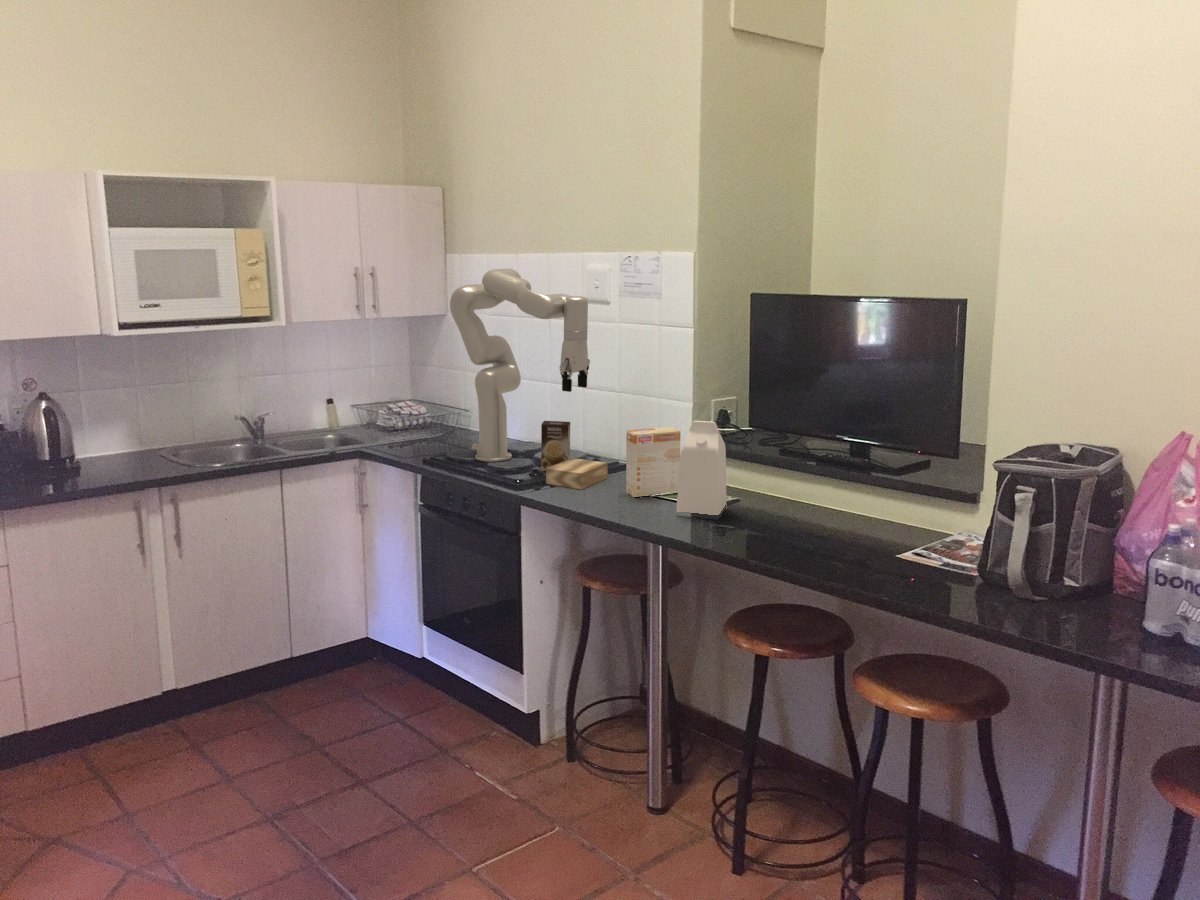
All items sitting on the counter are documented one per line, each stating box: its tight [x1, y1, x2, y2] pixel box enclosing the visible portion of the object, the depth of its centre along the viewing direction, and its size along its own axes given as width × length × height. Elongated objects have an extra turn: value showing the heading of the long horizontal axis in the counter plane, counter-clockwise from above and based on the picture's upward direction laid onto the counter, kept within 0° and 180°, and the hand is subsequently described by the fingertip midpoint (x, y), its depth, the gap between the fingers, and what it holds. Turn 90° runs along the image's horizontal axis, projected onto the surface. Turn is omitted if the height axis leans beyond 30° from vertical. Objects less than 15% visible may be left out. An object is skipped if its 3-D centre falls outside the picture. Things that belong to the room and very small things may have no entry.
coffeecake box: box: [625, 426, 681, 498], centre depth 288 cm, size 15×7×20 cm, turn 109°
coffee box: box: [540, 420, 571, 472], centre depth 316 cm, size 9×6×16 cm
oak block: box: [545, 457, 609, 490], centre depth 304 cm, size 13×16×5 cm
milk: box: [675, 420, 727, 515], centre depth 268 cm, size 12×12×26 cm
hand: (574, 389), depth 310 cm, fingers open, 9 cm apart
